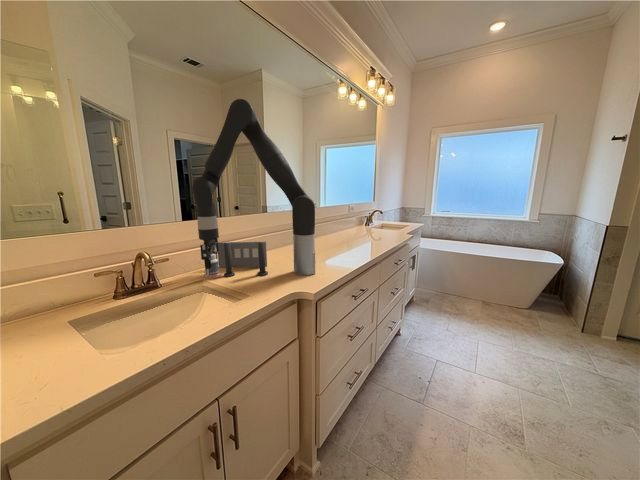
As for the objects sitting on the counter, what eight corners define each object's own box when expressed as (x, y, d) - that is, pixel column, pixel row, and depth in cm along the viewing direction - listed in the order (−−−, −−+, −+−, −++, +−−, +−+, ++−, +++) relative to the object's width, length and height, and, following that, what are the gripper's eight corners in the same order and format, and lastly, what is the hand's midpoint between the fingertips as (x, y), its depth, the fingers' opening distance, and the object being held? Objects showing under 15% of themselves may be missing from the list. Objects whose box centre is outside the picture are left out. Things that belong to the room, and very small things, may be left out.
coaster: (224, 272, 112) (224, 271, 112) (219, 278, 104) (219, 277, 104) (206, 273, 112) (206, 272, 111) (199, 279, 104) (199, 278, 104)
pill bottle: (221, 273, 109) (220, 253, 108) (213, 277, 105) (211, 256, 103) (212, 272, 111) (210, 252, 109) (203, 276, 106) (201, 255, 105)
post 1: (235, 273, 111) (233, 242, 108) (233, 276, 107) (231, 244, 104) (225, 273, 110) (223, 242, 108) (222, 277, 106) (219, 244, 103)
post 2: (268, 272, 112) (267, 241, 109) (267, 275, 108) (265, 243, 105) (258, 272, 112) (256, 241, 109) (256, 276, 107) (255, 243, 105)
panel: (267, 265, 122) (266, 241, 119) (266, 267, 119) (265, 242, 117) (219, 267, 120) (217, 242, 117) (218, 268, 118) (216, 243, 115)
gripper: (211, 229, 97) (215, 270, 100) (222, 224, 111) (225, 260, 114) (191, 230, 97) (195, 271, 100) (204, 225, 111) (208, 261, 114)
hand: (211, 265), depth 107 cm, fingers open, 8 cm apart
